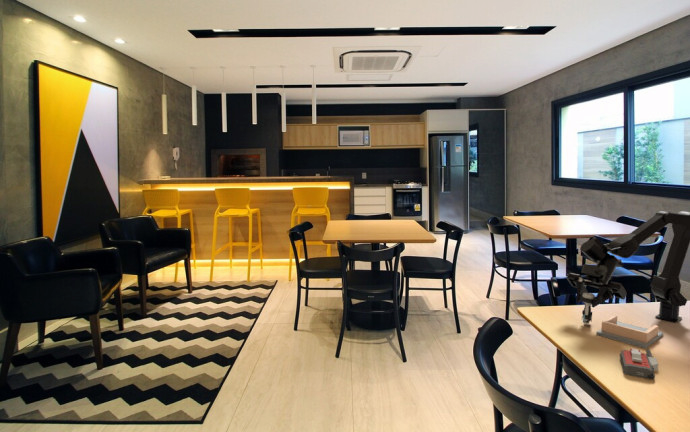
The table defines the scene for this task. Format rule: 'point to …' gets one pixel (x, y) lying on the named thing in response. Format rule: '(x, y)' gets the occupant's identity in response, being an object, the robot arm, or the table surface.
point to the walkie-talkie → (638, 363)
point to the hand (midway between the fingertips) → (584, 304)
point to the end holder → (629, 332)
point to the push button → (587, 306)
